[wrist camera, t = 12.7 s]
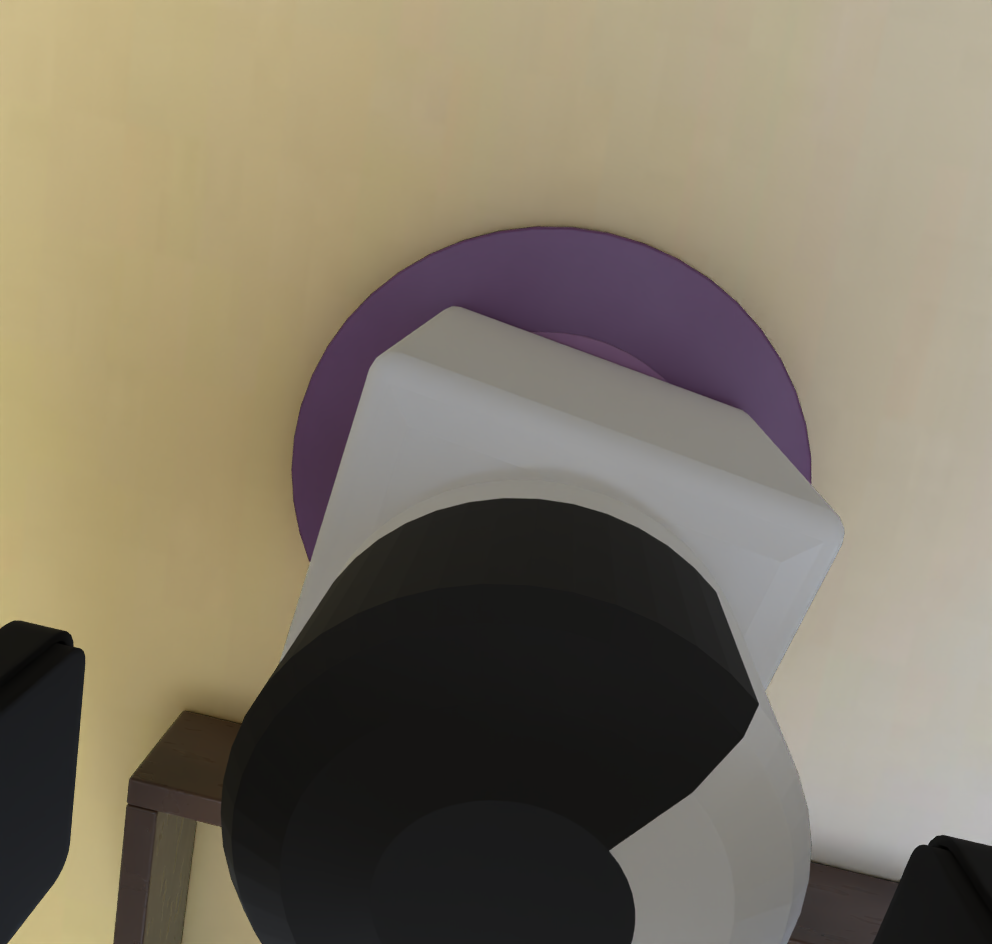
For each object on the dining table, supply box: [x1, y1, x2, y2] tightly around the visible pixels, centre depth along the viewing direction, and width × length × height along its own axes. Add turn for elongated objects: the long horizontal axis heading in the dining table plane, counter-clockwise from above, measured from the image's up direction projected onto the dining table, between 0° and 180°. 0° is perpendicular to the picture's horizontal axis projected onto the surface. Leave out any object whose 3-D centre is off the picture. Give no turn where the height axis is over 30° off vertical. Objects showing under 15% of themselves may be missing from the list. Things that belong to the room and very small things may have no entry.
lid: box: [292, 226, 811, 562], centre depth 20 cm, size 12×12×1 cm
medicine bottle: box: [220, 306, 844, 944], centre depth 14 cm, size 7×7×12 cm
